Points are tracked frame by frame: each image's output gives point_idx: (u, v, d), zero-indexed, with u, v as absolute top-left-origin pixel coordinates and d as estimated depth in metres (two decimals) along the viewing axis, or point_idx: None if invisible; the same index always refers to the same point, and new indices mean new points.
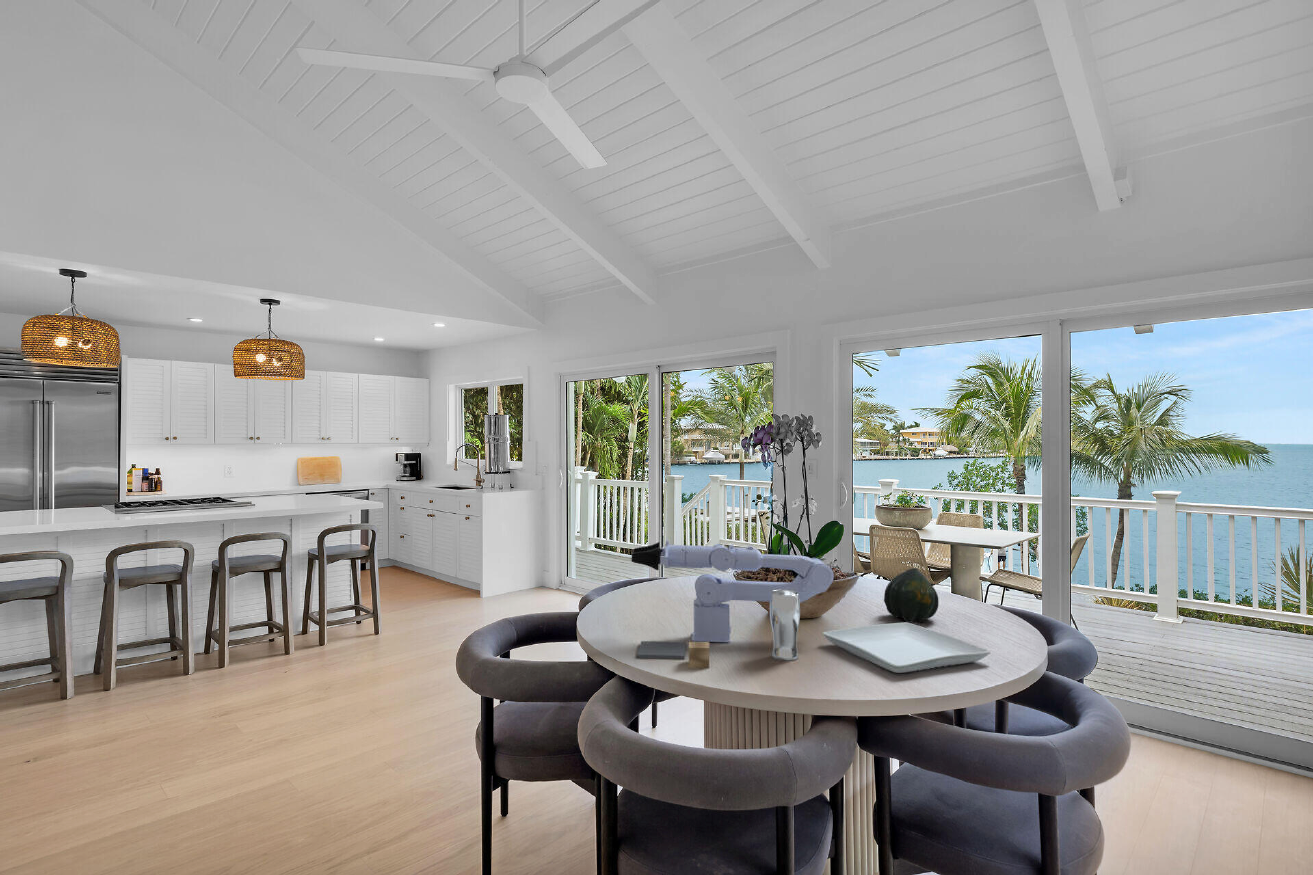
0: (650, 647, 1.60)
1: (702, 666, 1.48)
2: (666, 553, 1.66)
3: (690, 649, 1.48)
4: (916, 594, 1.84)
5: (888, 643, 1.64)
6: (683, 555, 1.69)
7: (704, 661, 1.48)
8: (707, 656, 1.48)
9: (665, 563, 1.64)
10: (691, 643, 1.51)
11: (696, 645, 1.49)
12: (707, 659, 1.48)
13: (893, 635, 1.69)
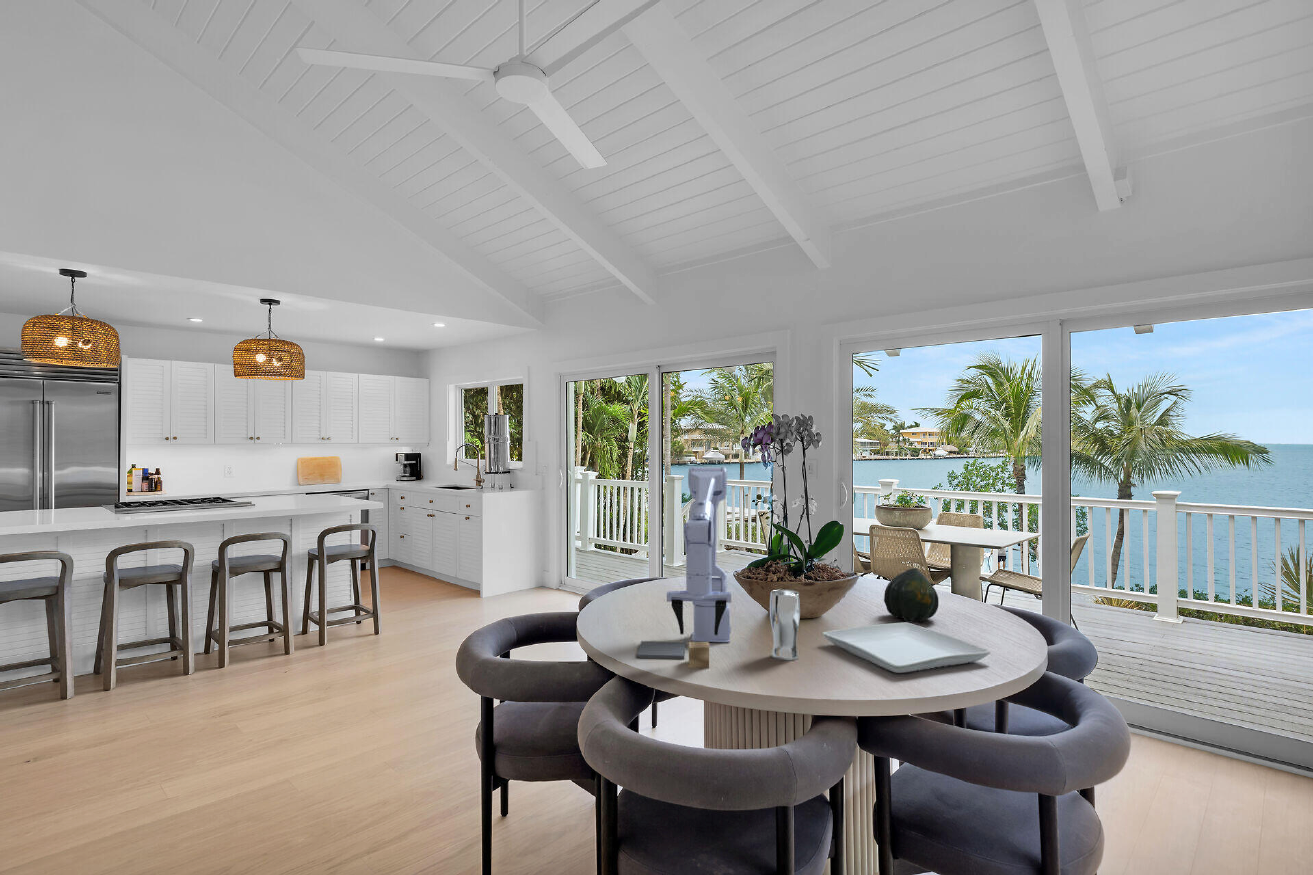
0: (650, 647, 1.60)
1: (702, 666, 1.48)
2: (721, 596, 1.48)
3: (690, 649, 1.48)
4: (917, 594, 1.84)
5: (888, 643, 1.64)
6: (711, 576, 1.49)
7: (704, 661, 1.48)
8: (707, 656, 1.48)
9: None
10: (691, 643, 1.51)
11: (696, 645, 1.49)
12: (707, 659, 1.48)
13: (893, 635, 1.69)
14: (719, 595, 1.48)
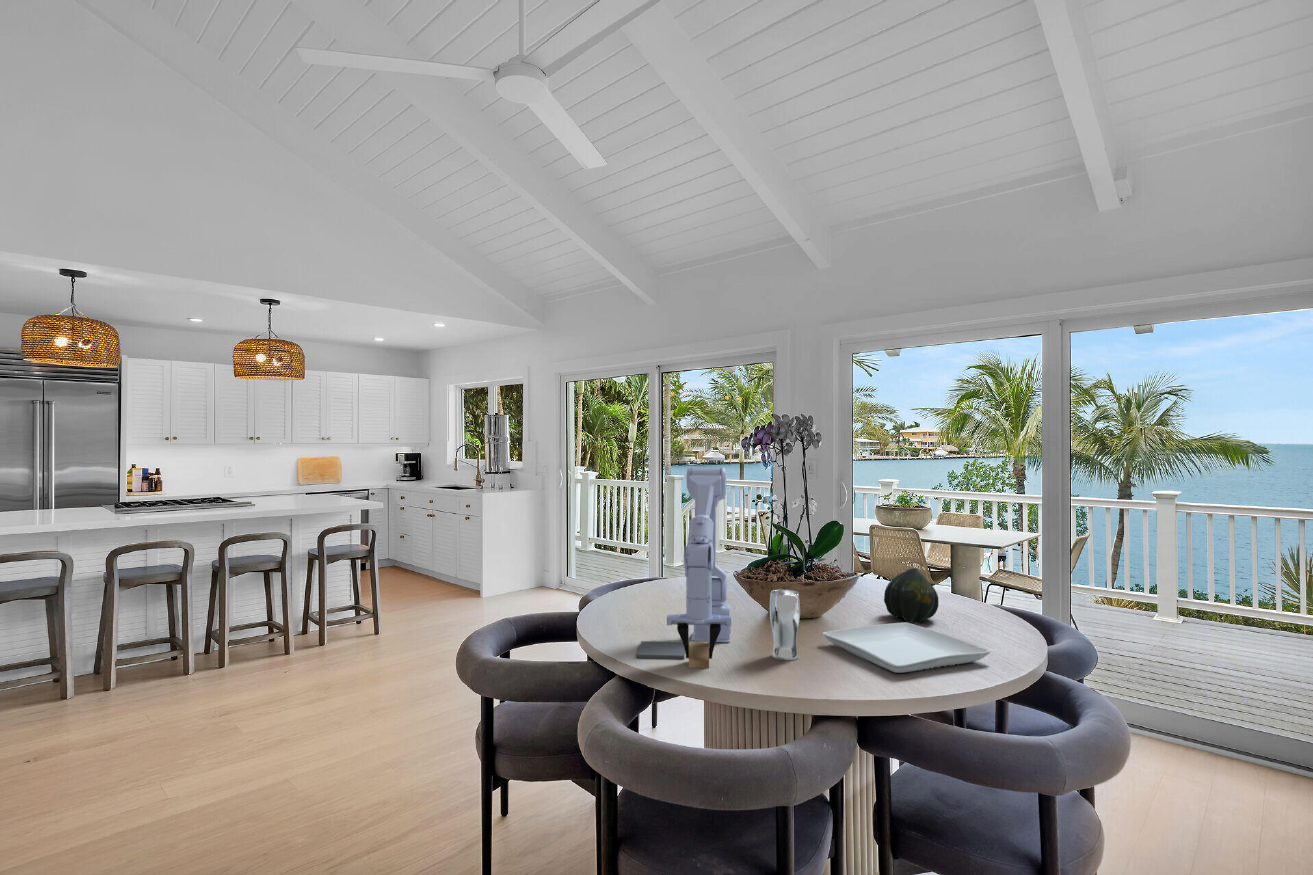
0: (650, 647, 1.60)
1: (702, 665, 1.48)
2: (721, 620, 1.48)
3: (690, 649, 1.48)
4: (916, 594, 1.84)
5: (888, 643, 1.64)
6: (711, 599, 1.49)
7: (704, 661, 1.48)
8: (707, 655, 1.48)
9: None
10: (690, 643, 1.51)
11: (696, 645, 1.49)
12: (707, 658, 1.48)
13: (893, 635, 1.69)
14: (719, 619, 1.48)
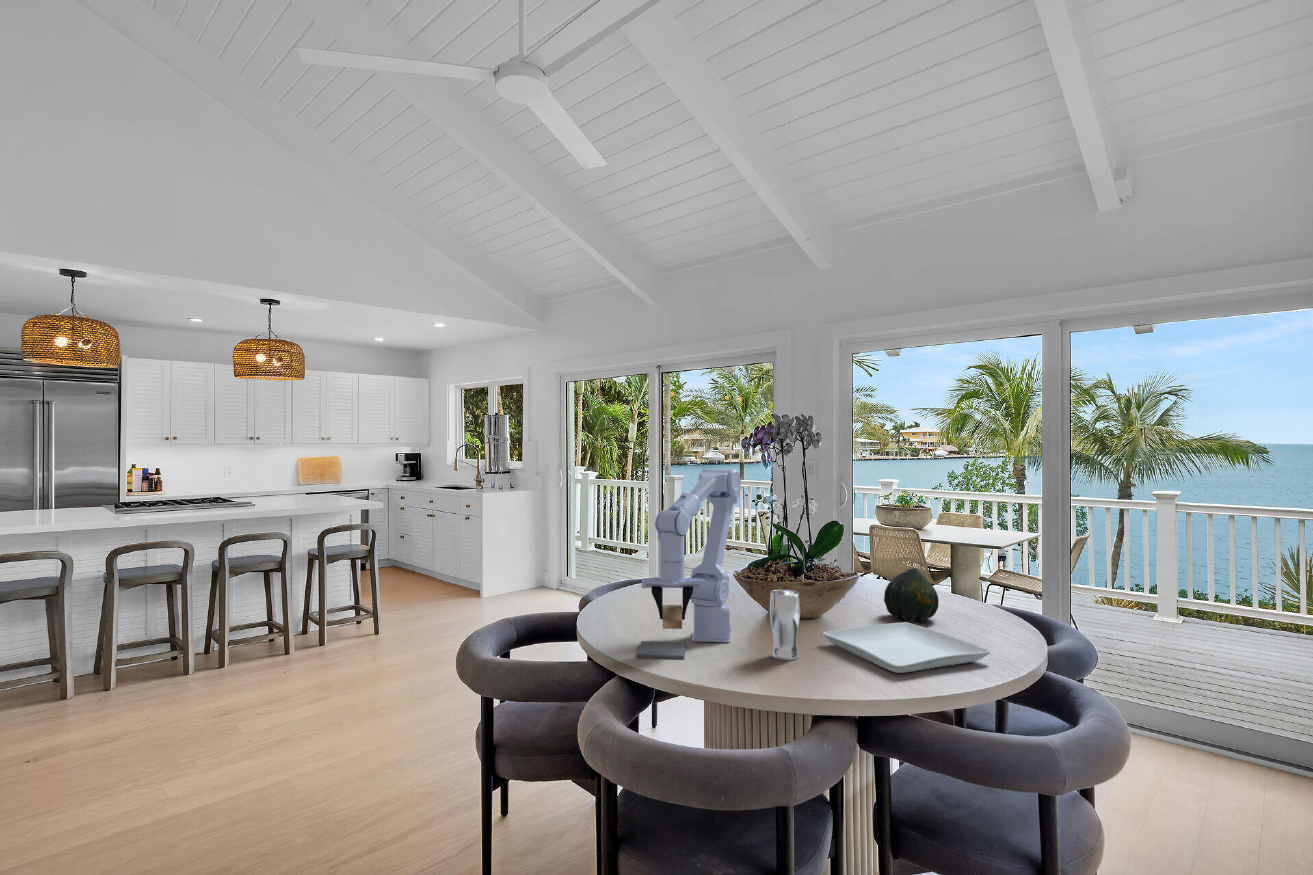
0: (650, 647, 1.60)
1: (675, 627, 1.55)
2: (693, 582, 1.55)
3: (664, 611, 1.55)
4: (916, 594, 1.84)
5: (888, 643, 1.64)
6: (683, 563, 1.56)
7: (677, 622, 1.55)
8: (680, 617, 1.55)
9: None
10: (664, 606, 1.58)
11: (669, 607, 1.56)
12: (680, 620, 1.55)
13: (893, 635, 1.69)
14: (691, 581, 1.55)
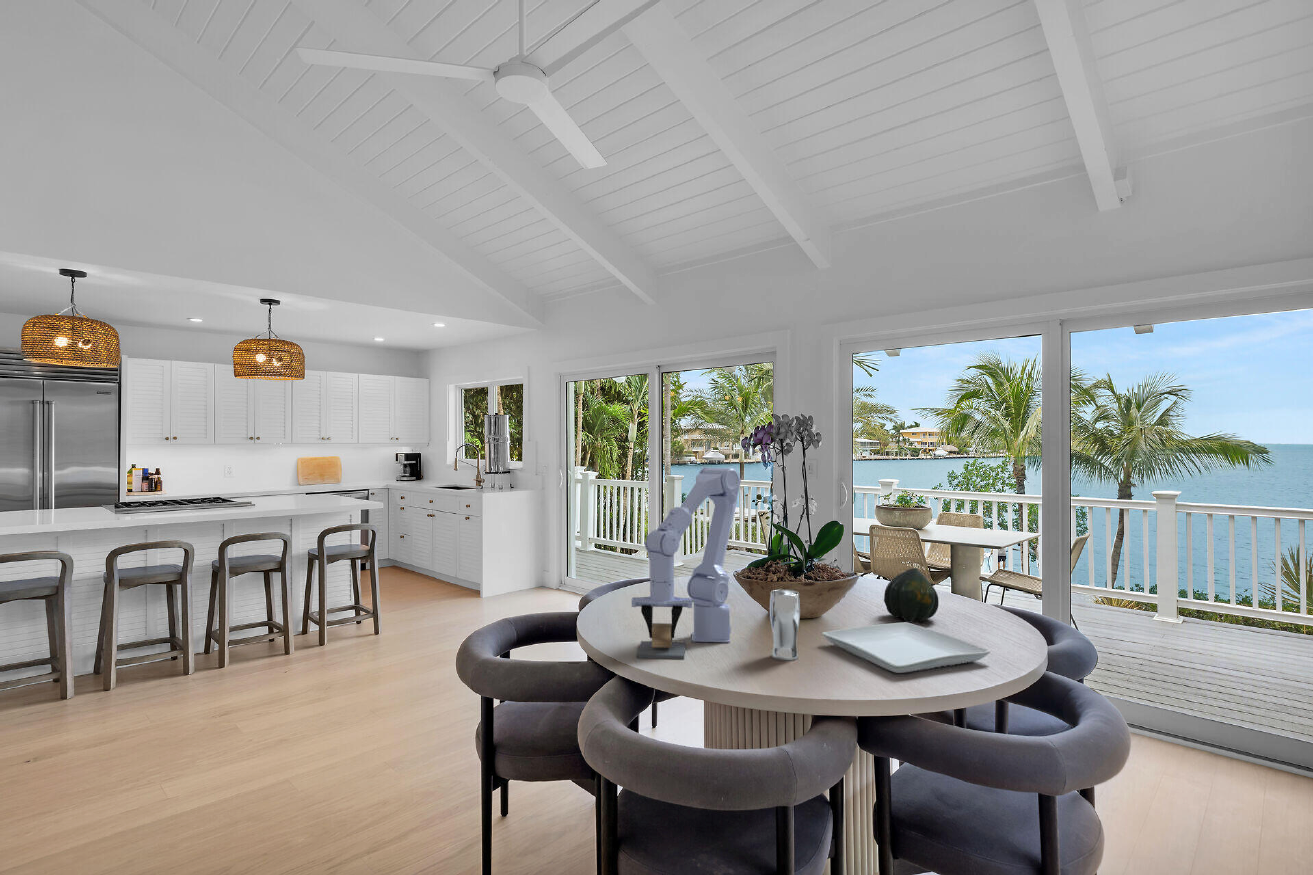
0: (650, 647, 1.60)
1: (664, 645, 1.57)
2: (682, 602, 1.58)
3: (653, 629, 1.57)
4: (916, 594, 1.84)
5: (888, 643, 1.64)
6: (673, 583, 1.59)
7: (666, 641, 1.57)
8: (669, 636, 1.57)
9: None
10: (654, 624, 1.60)
11: (659, 626, 1.59)
12: (669, 639, 1.57)
13: (893, 635, 1.69)
14: (680, 601, 1.58)
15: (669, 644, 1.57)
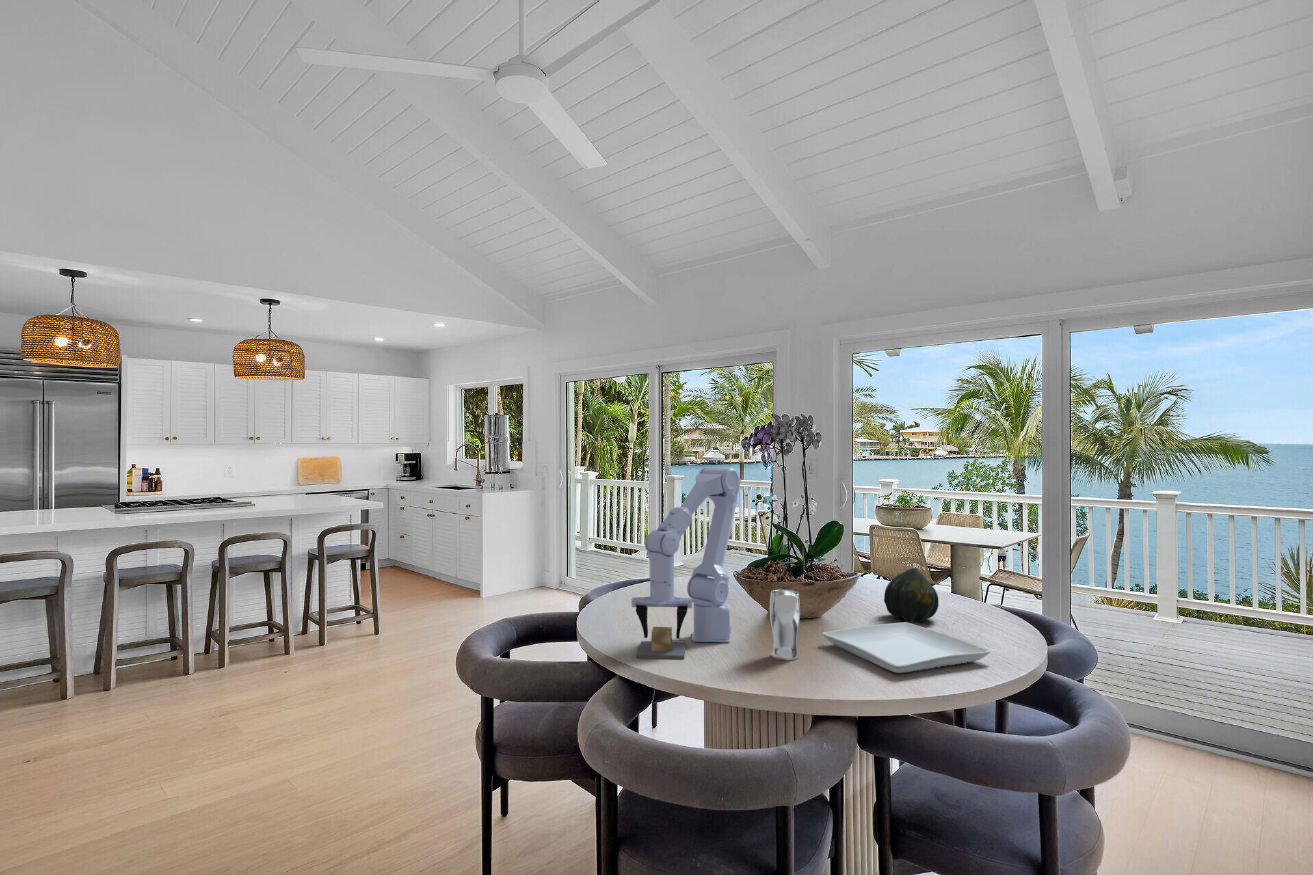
0: (650, 647, 1.60)
1: (664, 649, 1.57)
2: (682, 602, 1.58)
3: (653, 633, 1.58)
4: (917, 594, 1.84)
5: (888, 643, 1.64)
6: (673, 583, 1.59)
7: (665, 645, 1.57)
8: (668, 640, 1.57)
9: None
10: (654, 628, 1.61)
11: (658, 630, 1.59)
12: (668, 642, 1.57)
13: (893, 635, 1.69)
14: (680, 601, 1.58)
15: (668, 648, 1.57)
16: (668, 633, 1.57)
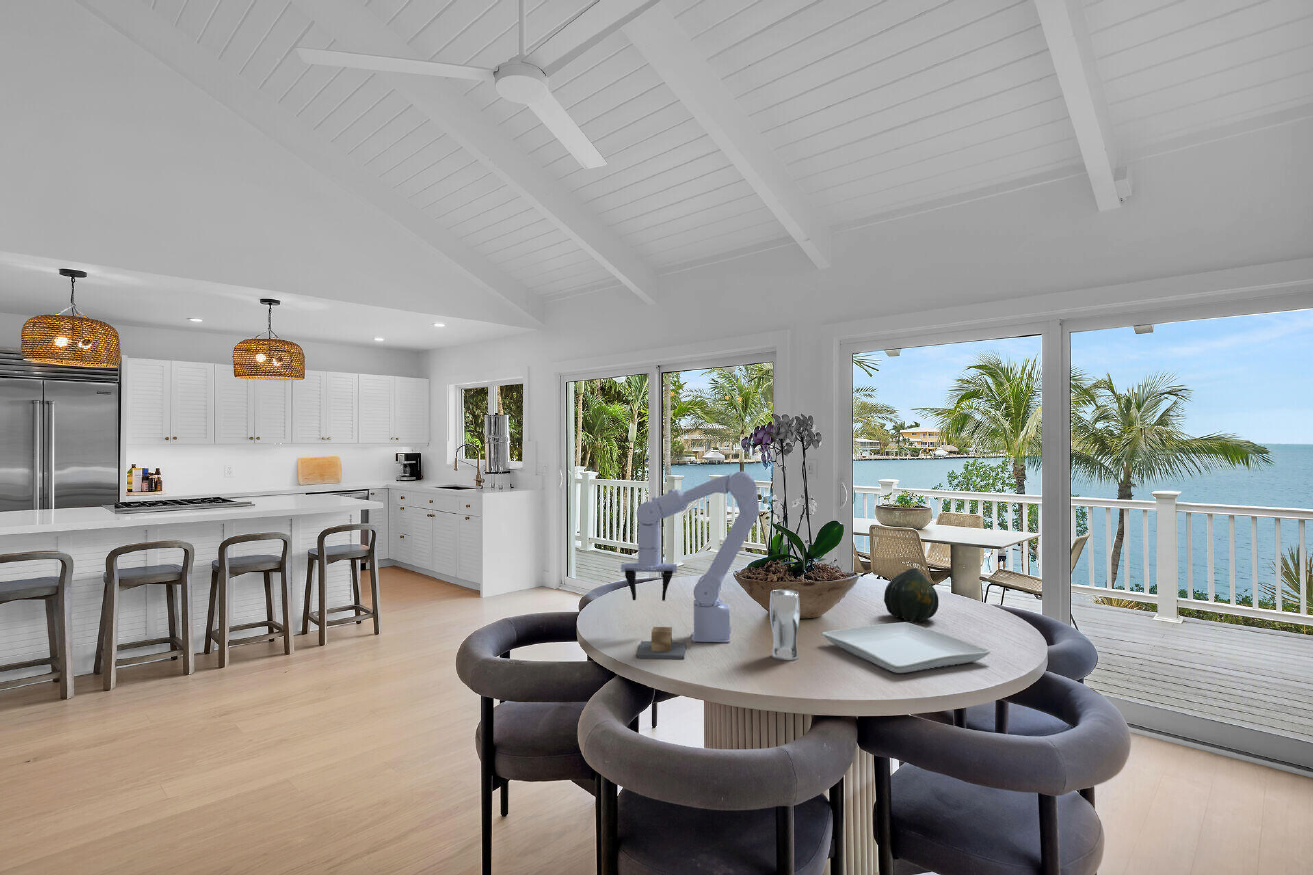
0: (650, 647, 1.60)
1: (664, 649, 1.57)
2: (667, 567, 1.72)
3: (653, 633, 1.58)
4: (916, 594, 1.84)
5: (888, 643, 1.64)
6: (659, 549, 1.73)
7: (665, 645, 1.57)
8: (668, 640, 1.57)
9: None
10: (654, 628, 1.61)
11: (658, 630, 1.59)
12: (668, 642, 1.57)
13: (893, 635, 1.69)
14: (666, 566, 1.72)
15: (668, 648, 1.57)
16: (668, 633, 1.57)
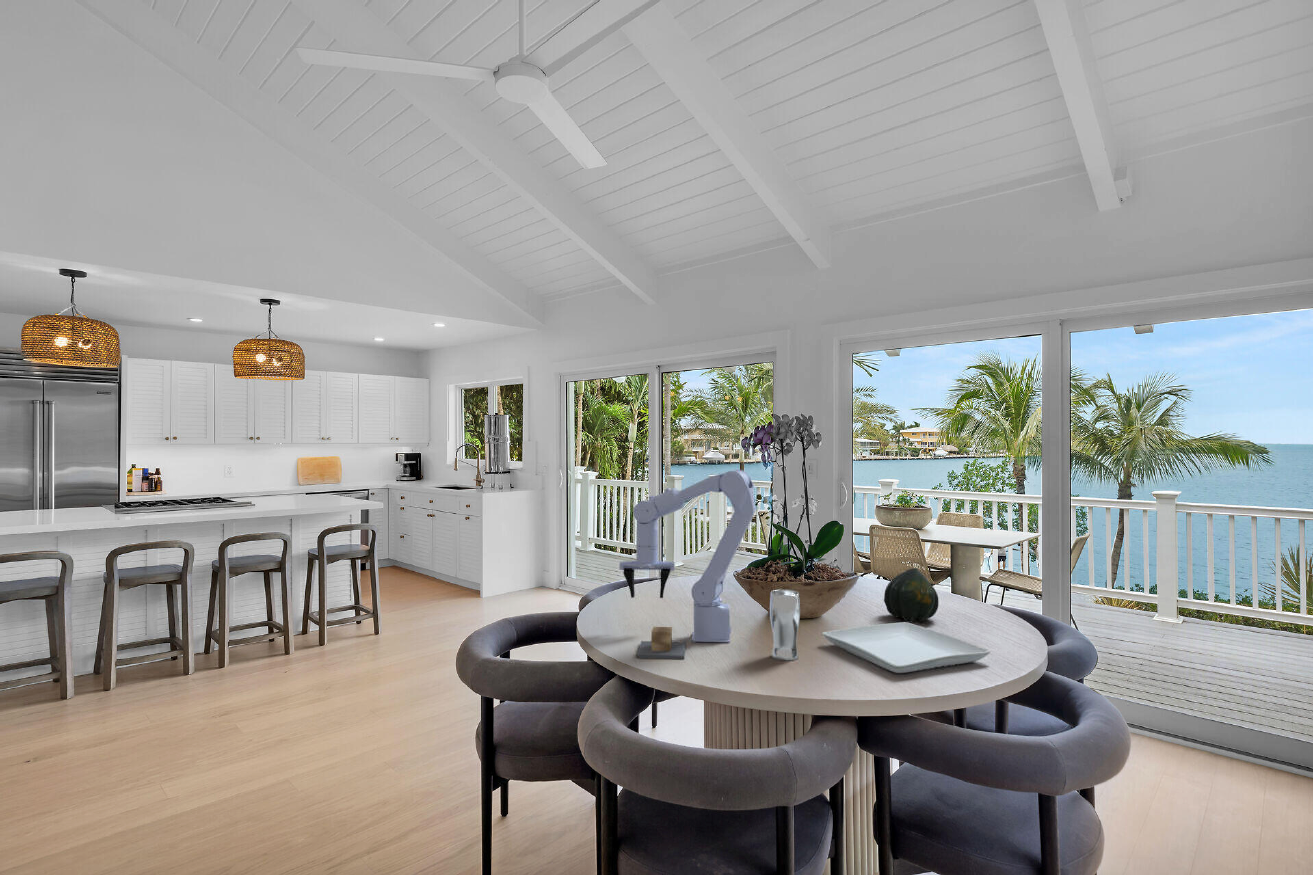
0: (650, 647, 1.60)
1: (664, 649, 1.57)
2: (665, 564, 1.75)
3: (653, 633, 1.58)
4: (916, 594, 1.84)
5: (888, 643, 1.64)
6: (657, 548, 1.75)
7: (665, 645, 1.57)
8: (668, 640, 1.57)
9: (674, 564, 1.76)
10: (654, 628, 1.61)
11: (658, 630, 1.59)
12: (668, 642, 1.57)
13: (893, 635, 1.69)
14: (664, 564, 1.74)
15: (668, 648, 1.57)
16: (668, 633, 1.57)
